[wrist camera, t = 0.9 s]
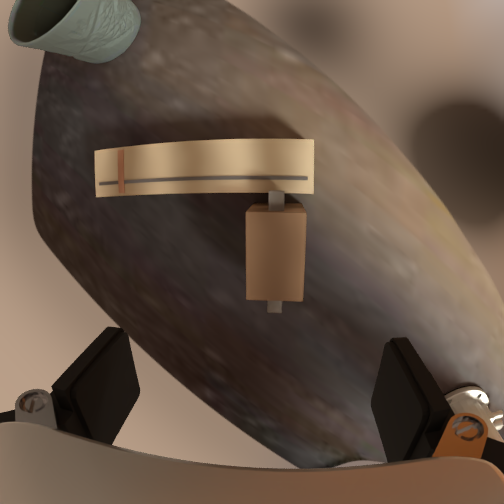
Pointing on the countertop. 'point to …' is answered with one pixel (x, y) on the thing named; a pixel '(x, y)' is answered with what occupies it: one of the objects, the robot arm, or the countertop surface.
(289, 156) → the guide plank
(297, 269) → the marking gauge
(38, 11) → the green cup
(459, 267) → the countertop surface
